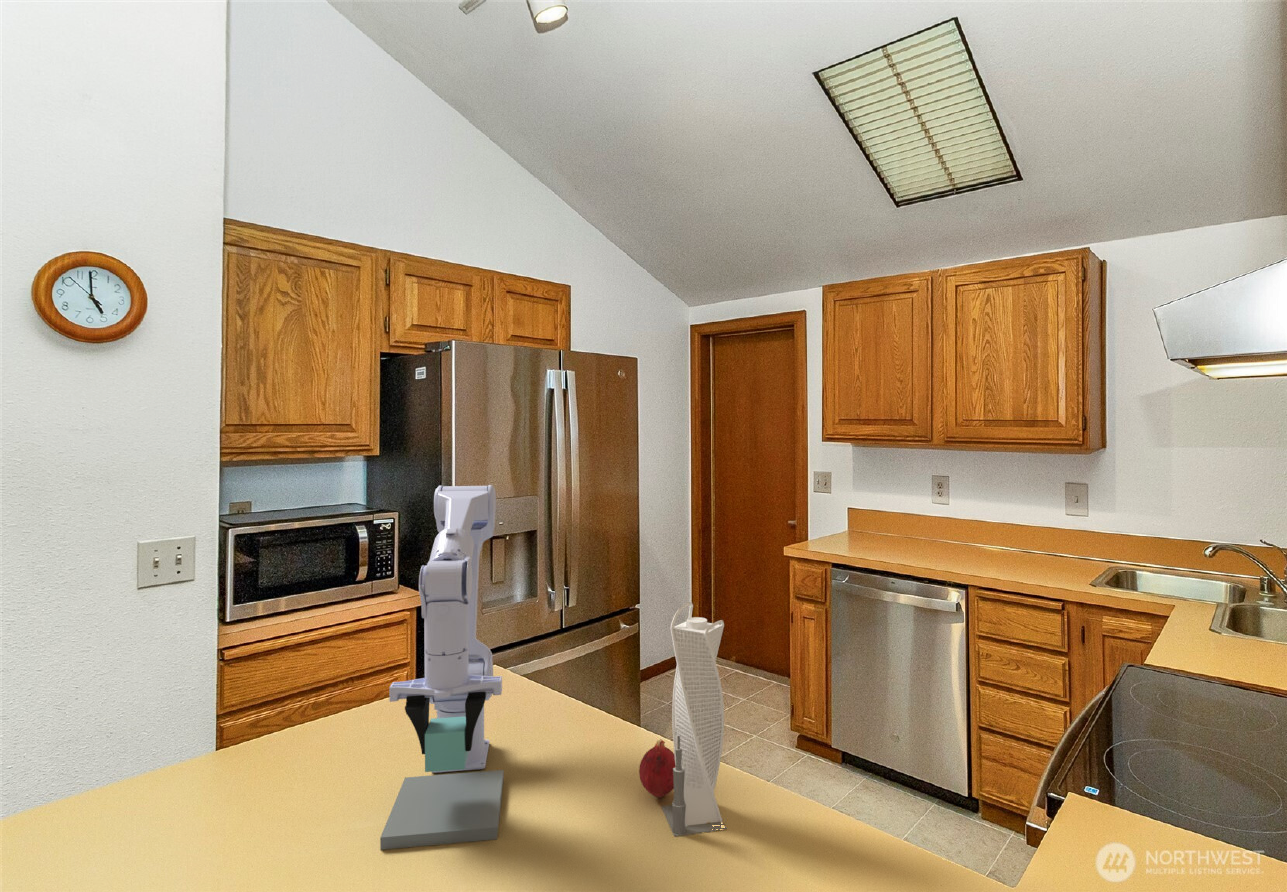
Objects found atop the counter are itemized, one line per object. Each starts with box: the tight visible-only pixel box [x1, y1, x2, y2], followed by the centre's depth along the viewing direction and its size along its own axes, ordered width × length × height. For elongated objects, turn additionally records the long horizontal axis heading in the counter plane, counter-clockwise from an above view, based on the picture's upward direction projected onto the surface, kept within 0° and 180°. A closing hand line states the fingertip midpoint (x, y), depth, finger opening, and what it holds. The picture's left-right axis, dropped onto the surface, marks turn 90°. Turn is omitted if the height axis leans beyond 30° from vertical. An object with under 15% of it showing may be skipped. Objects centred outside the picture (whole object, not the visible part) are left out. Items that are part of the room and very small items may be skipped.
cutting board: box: [379, 769, 505, 851], centre depth 91 cm, size 15×14×2 cm
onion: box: [638, 738, 676, 799], centre depth 94 cm, size 6×6×8 cm
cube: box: [424, 716, 468, 773], centre depth 91 cm, size 5×5×5 cm
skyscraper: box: [661, 602, 728, 838], centre depth 90 cm, size 8×8×28 cm
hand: (447, 749), depth 91 cm, fingers closed on cube, 5 cm apart
